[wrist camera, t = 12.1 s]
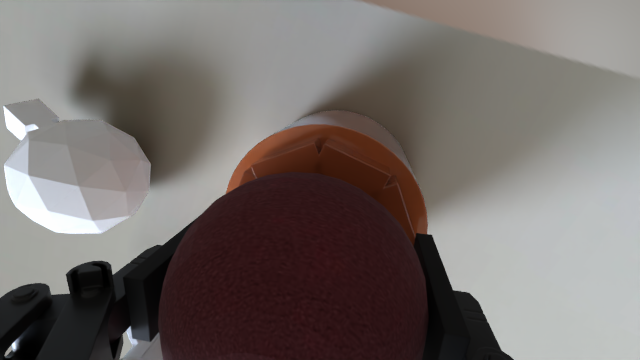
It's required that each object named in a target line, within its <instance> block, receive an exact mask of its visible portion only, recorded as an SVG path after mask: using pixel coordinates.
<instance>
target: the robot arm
mask: <svg viewBox="0 0 640 360" xmlns="http://www.w3.org/2000/svg"><path fill="white" fill-rule="evenodd" d="M199 217H200V216H199ZM199 217H198V218H199ZM198 218H197V219H198ZM197 219H195V220H194V221H193V222H191V223H190V224H189V225H188V226H186V227H185V228H184V229H183V230H181V231H180V232H179V233H178V234H176V235H175V236H174V237H173V238H171V239H170V240H169V241H168V242H166V243H165V244H164V245H163V246H162V245H156V246H154V247H152V248H149V249H147V250H145V251H144V252H143V253H141V254H140V255H139V256H137V258H135V259H133V260H132V261H131V262H130V263H128V264H127V265H126V266H124V267H123V268H122V269H120V270H119V271H118V272H116V273H115V274H114V275H112V269H111V265H110V264H109V263H108V262H105V261H92V262H87V263H84V264H81V265H78V266H76V267H74V268H73V269H71V270H70V271H69V272H68V273H67V274H66V277H67V282H68V286H69V291H70V294H58V295H51V293H50V288H49V286H48V285H46V284H42V283H35V284H28V285H25V286H20V287H18V288H16V289H14V290H12V291H10V292H8V293H7V294H5V295H4V296H2V297H1V298H0V360H119V359H120V354H121V350H122V346H123V335H122V334H123V333H124V332H125V331H126V330H127V329H128V328H129V327H131V334H132V339H137V340H142V341H147V342H151V341H152V340H153V339H154V338H155V336H156V335H157V334H158V333H159V328H158V317H159V303H160V297H161V292H162V286H163V282H164V279H165V275H166V272H167V269H168V265H169V263H170V261H171V259H172V257H173V255H174V253H175V251H176V249H177V247H178V245H179V243H180V242H181V240H182V238H183V237H184V235H185V233H186V232H187V230H188V229H189V227H190V226H191V225H192V224H193V223H194V222H195V221H196V220H197ZM414 249H415V251H416V253H417V255H418V258H419V261H420V264H421V267H422V270H423V273H424V276H425V281H426V291H427V302H428V313H429V323H428V330H427V336H426V342H425V347H424V352H423V357H422V360H514V359H512V358H511V357H510V356H509V355H507V354H506V353H504V352H503V351H501V349H500V347H499V344H498V342H497V340H496V338H495V336H494V334H493V332H492V330H491V328H490V325H489V323H488V322H487V319H486V317H485V315H484V314H483V311H482V309H481V307H480V304H479V302H478V301H477V300H476V299H475V298H474V297H473V296H472V295H471V294H470V293H467V292H461V291H454V290H453V289H452V287H451V284H450V282H449V279H448V276H447V274H446V271H445V268H444V266H443V263H442V261H441V258H440V255H439V253H438V250H437V248H436V245H435V242H434V240H433V237H432V235H428V234H421V233H416V237H415V242H414ZM10 346H11V347H12V351H11V352H10V353H9V354H8V355H7V356H6V357H5V356H4V355H5V352H6V351H7V349H8V348H9V347H10Z"/></svg>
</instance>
